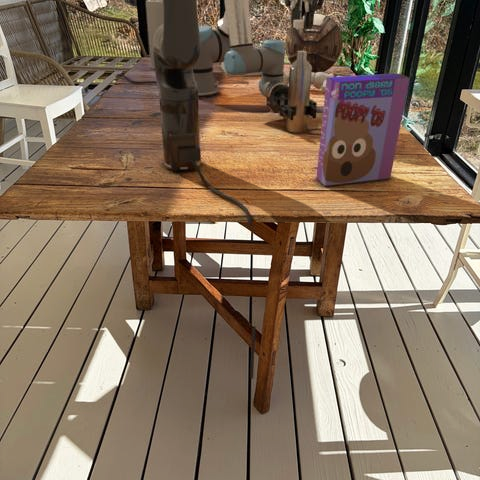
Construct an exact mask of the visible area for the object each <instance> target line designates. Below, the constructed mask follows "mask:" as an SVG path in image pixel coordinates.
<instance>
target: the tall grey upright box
mask: <svg viewBox="0 0 480 480" xmlns="http://www.w3.org/2000/svg"><path fill="white" fill-rule="evenodd" d="M145 6H146V18H147V31H148V45H149V56H150V69H152V70H155V66H154V55H153V38H154V35H155V32H156V30H157V29H158V28H159V27H160V26H161V25H162V24H163V0H146V1H145Z"/></svg>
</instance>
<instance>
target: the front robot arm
mask: <svg viewBox="0 0 480 480" xmlns="http://www.w3.org/2000/svg"><path fill="white" fill-rule="evenodd" d="M303 2H304V10H305V11H304V15H305V16H304V15H303V16H304V29H312V27H313V23H314V22H313V21H314V13H316V11H318V10H321V9H322V8H323V5H324V2H325V0H284V3H285V7H289V9H290V25H291V26H292V27H293V22H294V20H296V19H300V17H302V15H301V14H302V10H301V7H302V4H303ZM199 26H200V24H199V14H198V4H197V0H163V24H162V25H161V26H160V27H159V28H158V29H157V30H156V32H155V35H154V38H153V55H154V66H155V69H154V73H155V81H156V82H157V83H156V85H157V88H158V96H159V111H160V123H161V124H160V125H161V138H162V139H161V140H162V151H163V166H164V167H165V168H166V169H168V170H170V171H171V172H187V171H196V173H197V174H198V177H199V178H200V180H201V181H202V183H203V184H204V185H205V187H206V188H207V189H208V190H210V191H211V192H212V193H214V194H215V195H218V196H219V197H220V198H222V199H225V200H227V201H229V202H231V203H234V204H235V205H237V206H238V207H239V208H240V209H242V211H243V212H244V213H245V217H246V219H247V223H248V226H249V227H254V224H253V221H252V217H251V214H250V211H249V209H248V208H247V206H245V205H244V204H243V203H242V202H240V201H239V200H237V199H235V198H233V197H231V196H228V195H226V194H224V193H222V192H221V191H219V190H217V189H216V188H215V187H212V186H211V185H210V184H209V182H207V180H206V178H205V176H204V175H203V173H202V171H201V169H200V168H199V167H200V166H201V165H202V162H201V161H202V157H201V156H202V155H201V142H200V113H199V110H200V108H199V98H198V85H197V83H196V81H195V78H194V74H193V66H194V65H195V63H196V62H197V60H198V58H199V56H200V51H201V41H200V31H199ZM291 26H290V27H291ZM256 329H257V326H256V325H253V326H252V327H251V345H250V368H249V378H250V379H254V371H255V369H254V368H255V367H254V366H255V345H256V344H255V343H256Z"/></svg>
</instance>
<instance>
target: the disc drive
mask: <svg viewBox="0 0 480 480" xmlns="http://www.w3.org/2000/svg"><path fill="white" fill-rule="evenodd" d="M220 63H221V64H220V65H221V67H220V68H221V69H222V71H224V73H225V74H226V75H227V76H228V77H243V76H244V77H245V76H262V72H255V73H248V74H244V75H230V74H229V73H228V72H227V71H226V69H225V66H224V62H220Z"/></svg>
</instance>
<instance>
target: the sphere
mask: <svg viewBox="0 0 480 480" xmlns="http://www.w3.org/2000/svg"><path fill="white" fill-rule="evenodd" d="M304 16H305V14H304V15H301V16H300V19H304ZM313 22H314V23H313V27H312V29H304V28H294V27H292V26H290V27H289V29H288V31H287V34H286V36H285V41H284V43H285V56H286V57H287V60H288V62H289V63H290V65H292V63H294V62H295V61H296V60H297V51H307V57H306V60H307V62H309V64H310V65H311V67H312V73H313V72H314V73H317V72H324V73H326V72H327V71H328V70H330V69H331V68H332V67H333V66H335V64H336V63H337V61H338V60H339V58H340V56H341V54H342V51H343V44H344V39H343V33H342V31H341V30H342V29H341V28H340V26H339V25H338V23H337V22H336V21H335V20H334V19H333V18H332V17H330V16H329V15H327V14H325V13H320V12H314V21H313Z"/></svg>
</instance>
